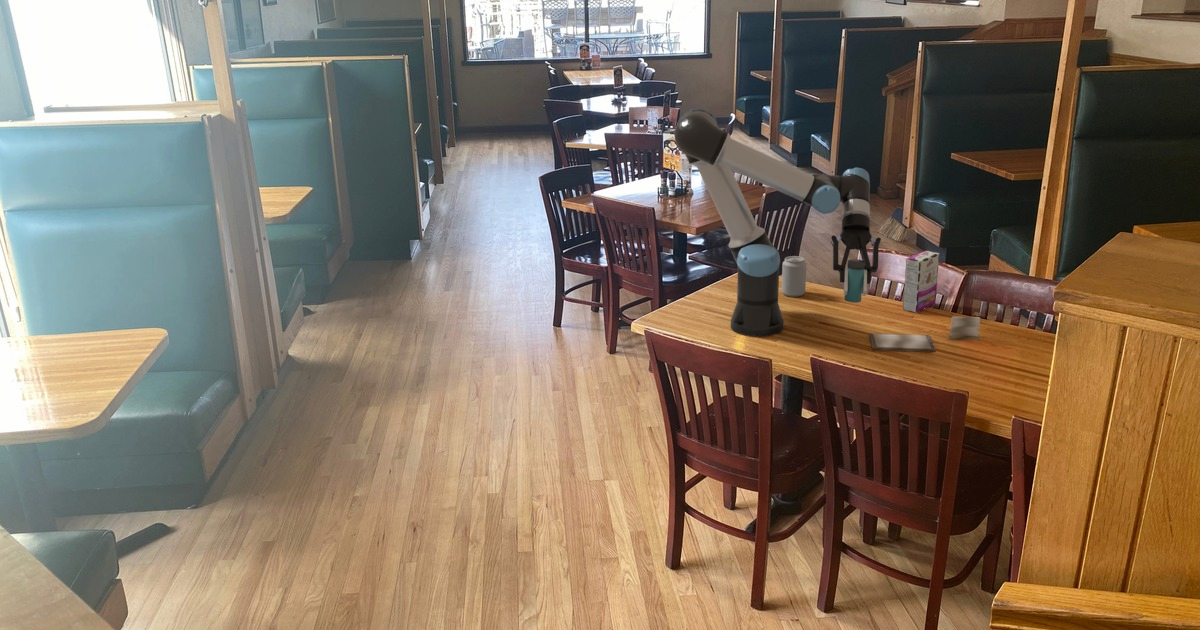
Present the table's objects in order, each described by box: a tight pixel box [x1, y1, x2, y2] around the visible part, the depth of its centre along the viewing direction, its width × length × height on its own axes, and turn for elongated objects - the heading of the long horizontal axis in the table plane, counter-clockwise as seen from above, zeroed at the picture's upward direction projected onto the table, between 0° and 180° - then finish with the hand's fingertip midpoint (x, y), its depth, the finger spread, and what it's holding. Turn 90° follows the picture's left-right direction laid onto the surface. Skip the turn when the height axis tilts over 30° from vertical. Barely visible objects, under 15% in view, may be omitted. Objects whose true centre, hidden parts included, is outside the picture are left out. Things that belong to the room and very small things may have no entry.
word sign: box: [947, 316, 981, 342], centre depth 238 cm, size 8×2×6 cm, turn 79°
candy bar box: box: [902, 250, 940, 314], centre depth 262 cm, size 11×5×16 cm, turn 131°
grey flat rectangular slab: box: [868, 333, 937, 353], centre depth 237 cm, size 16×11×2 cm
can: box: [781, 255, 808, 298], centre depth 278 cm, size 8×8×12 cm
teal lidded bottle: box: [844, 258, 866, 304], centre depth 238 cm, size 5×5×11 cm
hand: (855, 292), depth 235 cm, fingers closed on teal lidded bottle, 4 cm apart
